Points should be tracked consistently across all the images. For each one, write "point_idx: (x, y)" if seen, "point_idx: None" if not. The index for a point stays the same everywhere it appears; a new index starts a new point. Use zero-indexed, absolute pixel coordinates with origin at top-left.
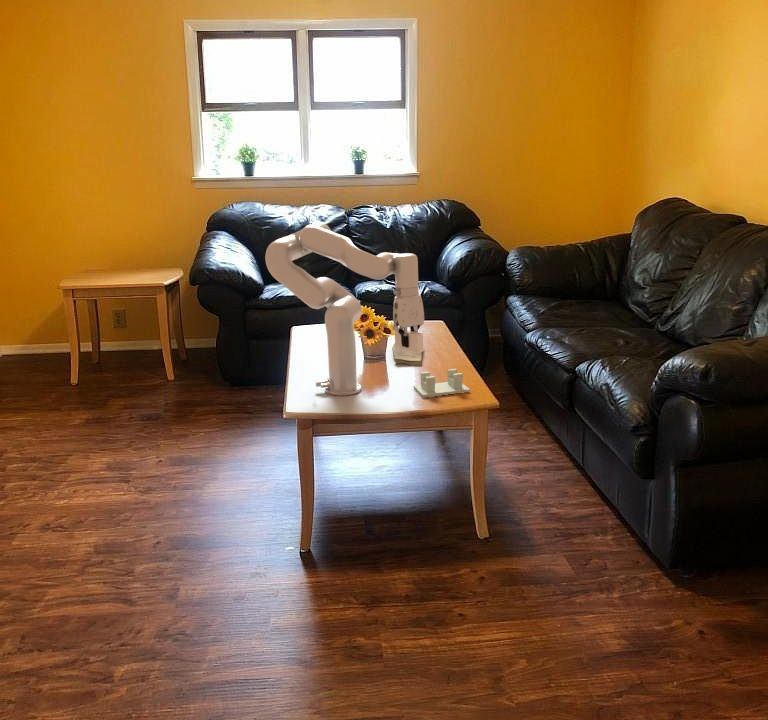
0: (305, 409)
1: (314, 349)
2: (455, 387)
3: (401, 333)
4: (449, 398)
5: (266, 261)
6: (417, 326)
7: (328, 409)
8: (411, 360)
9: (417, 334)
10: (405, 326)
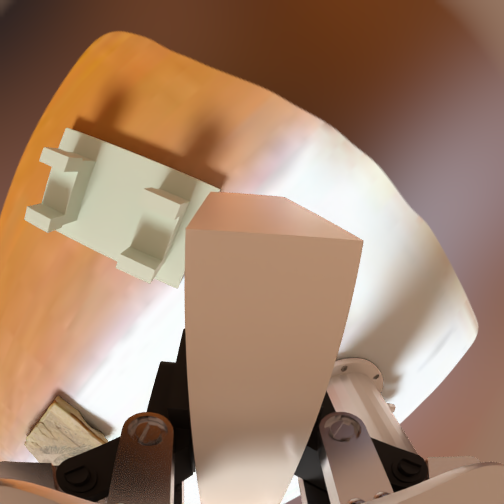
0: (463, 332)
1: None
2: (89, 159)
3: (385, 445)
4: (154, 124)
5: None
6: (99, 486)
7: (449, 305)
8: (72, 418)
9: (310, 281)
10: (474, 475)
